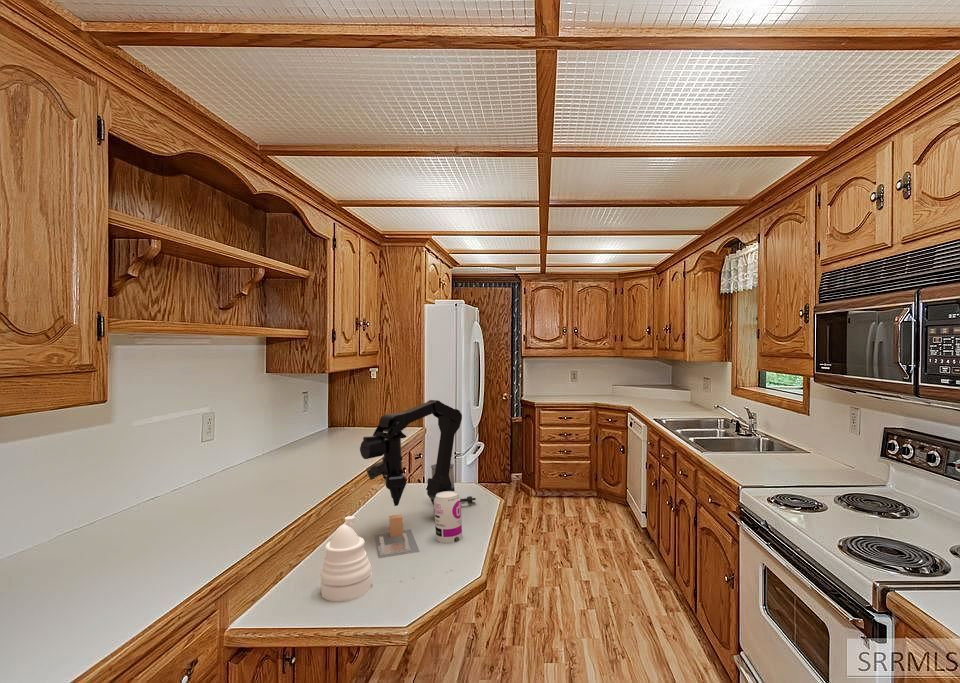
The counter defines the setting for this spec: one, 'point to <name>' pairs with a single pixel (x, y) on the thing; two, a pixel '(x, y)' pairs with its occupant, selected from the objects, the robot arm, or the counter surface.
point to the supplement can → (448, 517)
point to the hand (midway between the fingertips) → (394, 501)
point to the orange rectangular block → (396, 525)
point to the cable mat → (395, 540)
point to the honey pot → (345, 566)
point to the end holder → (394, 547)
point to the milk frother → (451, 476)
